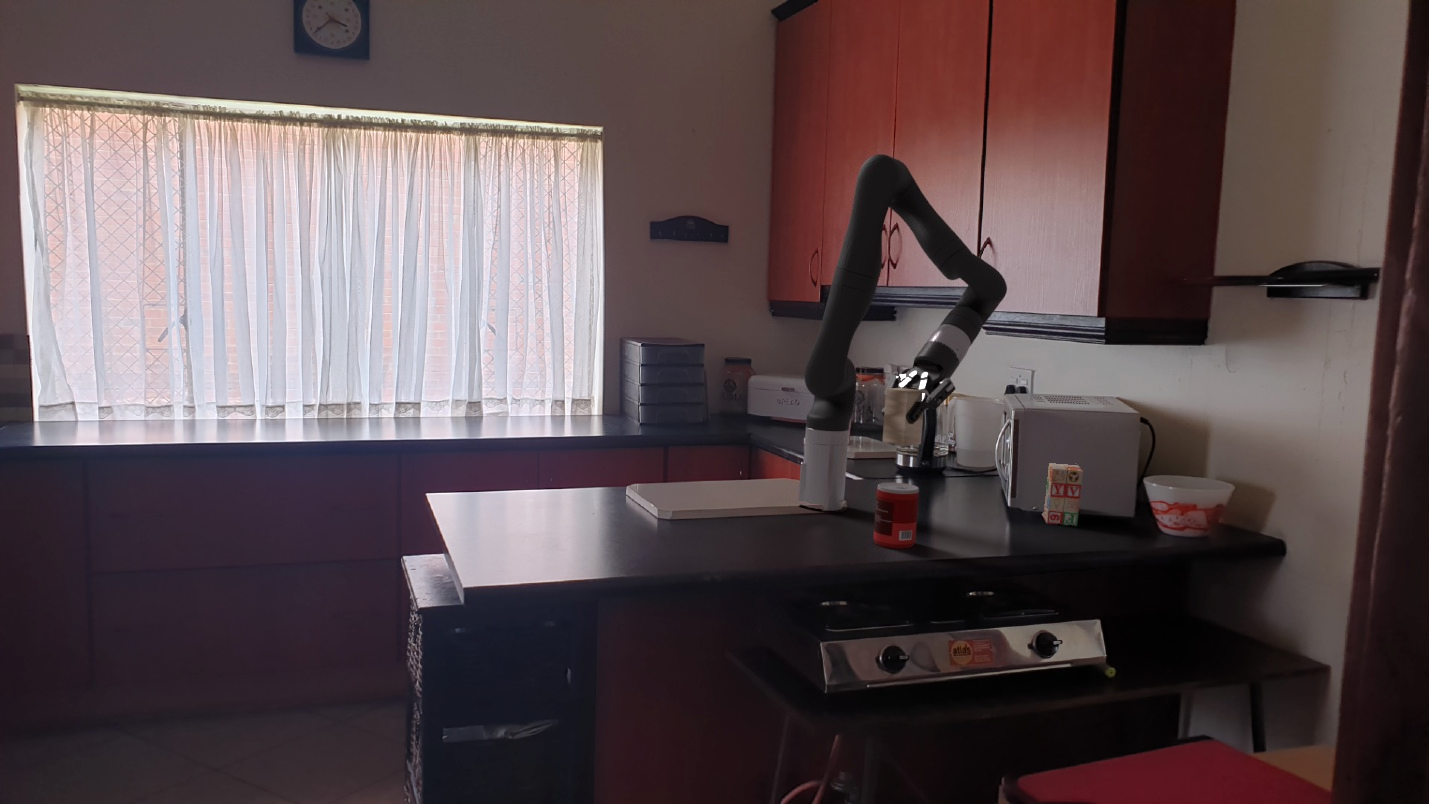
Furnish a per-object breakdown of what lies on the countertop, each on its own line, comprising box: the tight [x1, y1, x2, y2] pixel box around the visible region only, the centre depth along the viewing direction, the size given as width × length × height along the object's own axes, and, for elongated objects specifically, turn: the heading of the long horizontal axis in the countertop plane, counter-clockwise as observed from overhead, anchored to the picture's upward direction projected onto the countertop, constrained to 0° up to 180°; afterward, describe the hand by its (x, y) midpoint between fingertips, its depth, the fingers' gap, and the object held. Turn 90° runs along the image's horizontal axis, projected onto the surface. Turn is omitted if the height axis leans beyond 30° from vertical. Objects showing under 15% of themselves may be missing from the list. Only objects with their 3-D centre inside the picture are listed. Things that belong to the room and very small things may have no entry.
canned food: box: [873, 482, 920, 550], centre depth 186 cm, size 8×8×11 cm
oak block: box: [882, 387, 924, 447], centre depth 184 cm, size 5×5×10 cm
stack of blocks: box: [1041, 463, 1084, 527], centre depth 221 cm, size 21×6×12 cm, turn 169°
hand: (897, 418), depth 183 cm, fingers closed on oak block, 5 cm apart
